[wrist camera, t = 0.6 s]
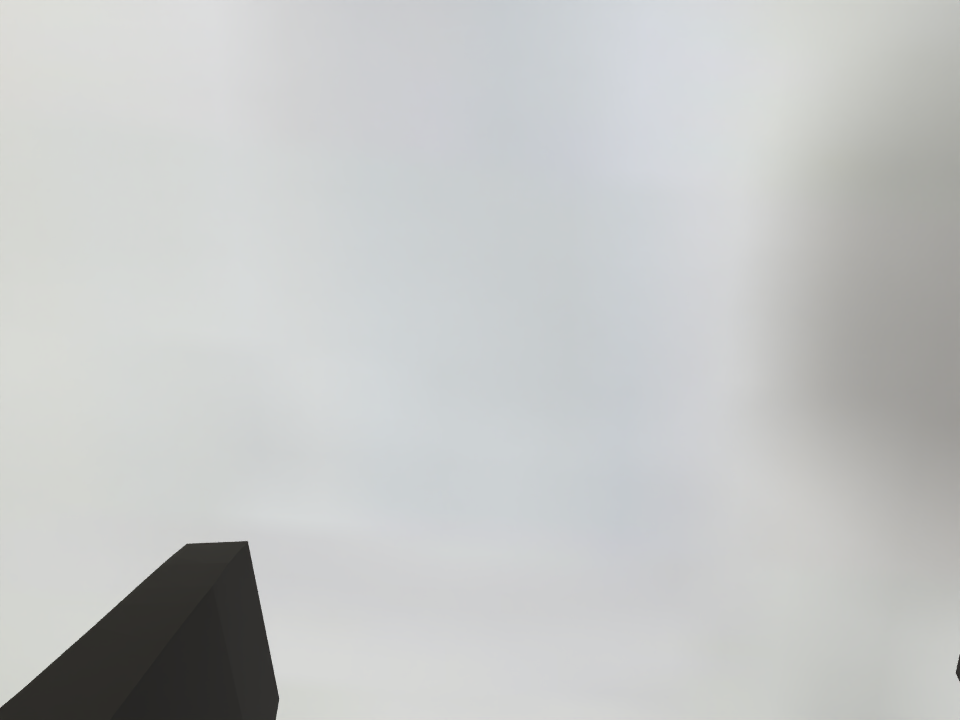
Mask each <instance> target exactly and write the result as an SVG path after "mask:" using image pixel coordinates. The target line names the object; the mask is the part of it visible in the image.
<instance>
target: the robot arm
mask: <svg viewBox="0 0 960 720" xmlns="http://www.w3.org/2000/svg"><path fill="white" fill-rule="evenodd" d="M956 674H957V676H958V679H959V681H960V656H959V660H958V665H957V670H956ZM278 703H279V695H278V690H277V685H276V680H275V675H274V670H273V665H272V660H271V655H270V650H269V645H268V640H267V635H266V630H265V625H264V620H263V615H262V610H261V605H260V600H259V595H258V590H257V585H256V580H255V575H254V570H253V565H252V560H251V555H250V550H249V545H248V541H241V542H218V543H196V544H186V545H185V546H184V547H182V548H181V549H180V550H179V551H178V552H176V553H175V554H174V555H173V556H171V557H170V558H169V559H168V560H167V561H166V562H164V563H163V564H162V565H161V566H160V567H159V568H158V569H157V570H155V571H154V572H153V573H152V574H151V575H150V576H149V577H148V578H146V579H145V580H144V581H143V582H142V583H141V584H140V585H139V586H138V587H136V588H135V589H134V590H133V591H132V592H131V593H130V594H129V595H128V596H127V597H125V598H124V599H123V600H122V601H121V602H120V603H119V604H118V605H117V606H116V607H114V608H113V609H112V610H111V611H110V612H109V613H108V614H107V615H106V616H105V617H103V618H102V619H101V620H100V621H99V622H98V623H97V624H96V625H95V626H93V627H92V628H91V629H90V630H89V631H88V632H87V633H86V634H84V635H83V636H82V637H81V638H80V639H79V640H78V641H76V642H75V643H74V644H73V645H72V646H71V647H70V648H69V649H67V650H66V651H65V652H64V653H63V654H62V655H61V656H60V657H58V658H57V659H56V660H55V661H54V662H53V663H52V664H50V665H49V666H48V667H47V668H46V669H45V670H44V671H43V672H41V673H40V674H39V675H38V676H37V677H36V678H35V679H34V680H32V681H31V682H30V683H29V684H28V685H27V686H26V687H24V688H23V689H22V690H21V691H20V692H19V693H17V694H16V695H15V696H14V697H13V698H12V699H10V700H9V701H8V702H7V703H5V704H4V705H3V706H2V707H1V708H0V720H276V715H277V709H278Z"/></svg>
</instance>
